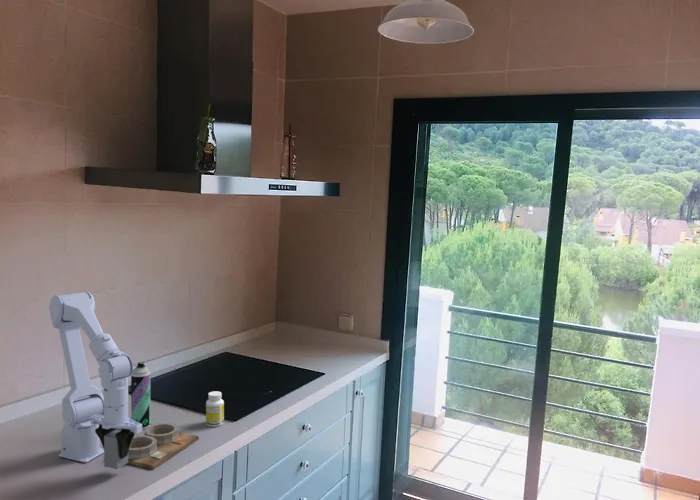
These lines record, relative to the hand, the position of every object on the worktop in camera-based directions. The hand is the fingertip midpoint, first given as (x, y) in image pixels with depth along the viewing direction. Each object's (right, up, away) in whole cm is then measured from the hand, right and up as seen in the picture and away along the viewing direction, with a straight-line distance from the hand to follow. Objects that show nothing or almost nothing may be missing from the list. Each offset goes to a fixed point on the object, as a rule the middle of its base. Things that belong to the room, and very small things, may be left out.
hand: (116, 455), depth 148 cm
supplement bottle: (+17, -2, +33) cm, 38 cm away
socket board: (+5, -4, +15) cm, 16 cm away
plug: (0, -2, 0) cm, 2 cm away
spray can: (-4, -2, +30) cm, 30 cm away
